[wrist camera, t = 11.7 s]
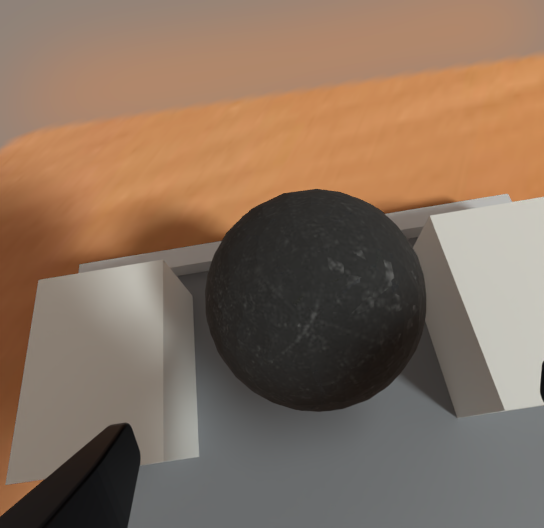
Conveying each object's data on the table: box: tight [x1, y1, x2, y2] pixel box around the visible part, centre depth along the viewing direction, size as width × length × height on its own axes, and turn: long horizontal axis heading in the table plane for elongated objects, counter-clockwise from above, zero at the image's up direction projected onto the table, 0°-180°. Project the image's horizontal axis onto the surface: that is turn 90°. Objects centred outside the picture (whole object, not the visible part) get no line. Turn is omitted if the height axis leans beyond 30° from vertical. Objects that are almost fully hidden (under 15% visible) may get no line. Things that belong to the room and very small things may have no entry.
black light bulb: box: [205, 189, 426, 412], centre depth 12 cm, size 6×6×10 cm
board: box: [5, 194, 544, 528], centre depth 13 cm, size 20×22×5 cm
